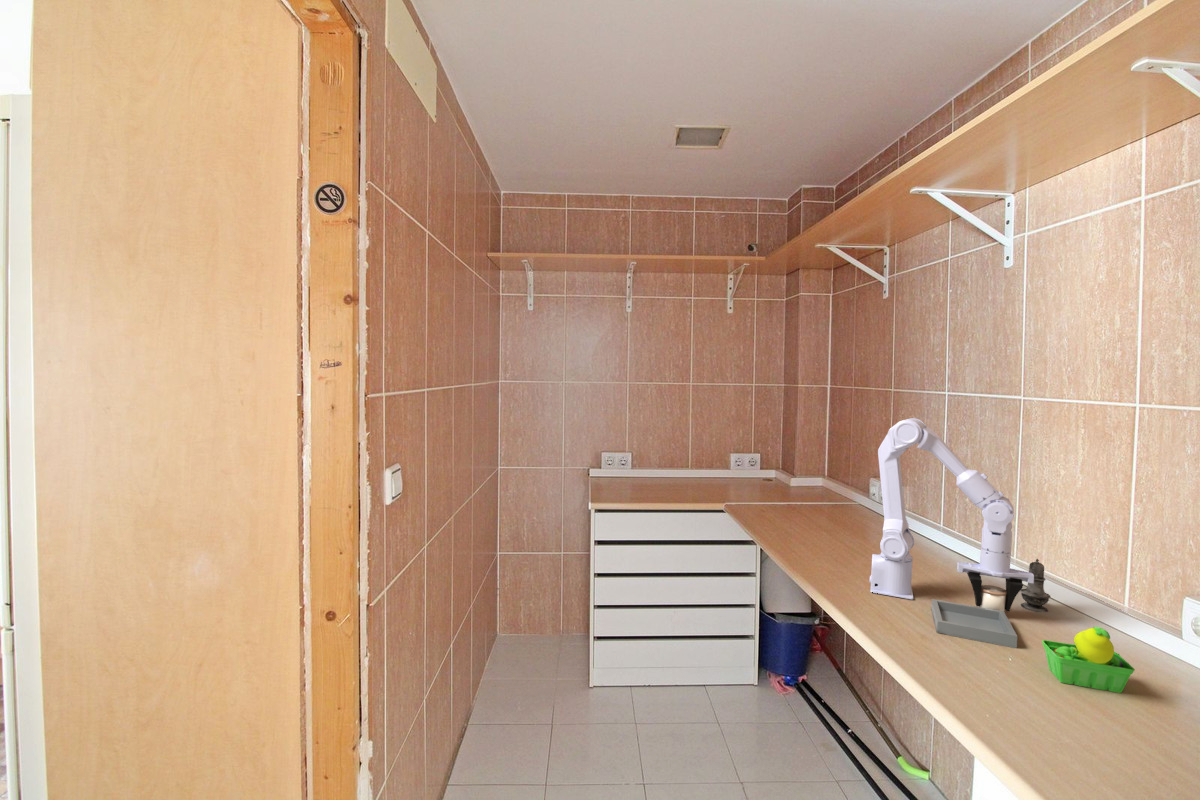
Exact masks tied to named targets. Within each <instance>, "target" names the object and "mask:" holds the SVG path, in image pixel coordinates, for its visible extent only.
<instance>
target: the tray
mask: <svg viewBox="0 0 1200 800" xmlns="http://www.w3.org/2000/svg"><path fill="white" fill-rule="evenodd" d="M930 607H931V609H930V610H931V613H932V617H933V618H932V619H933V623H934V628H935V630H936V634H941V635H946V636H951V637H958V638H963V639H968V640H972V641H977V642H983V643H987V644H991V645H992V644H993V645H996V646H997V645H999V646H1003V647H1007V648H1013V649H1017V647H1018V635H1017V633H1016V630H1014V628H1013V626H1012V623H1011V622H1010V620H1009V619H1008V617H1007V615H1006V612H1005V613H1004V611H999V610H993V609H988V608H982V607H979V606H976V605H975V606H973V605H968V604H963V603H956V602H951V601H946V600H941V599H934V598H932V599H931V606H930Z"/></svg>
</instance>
